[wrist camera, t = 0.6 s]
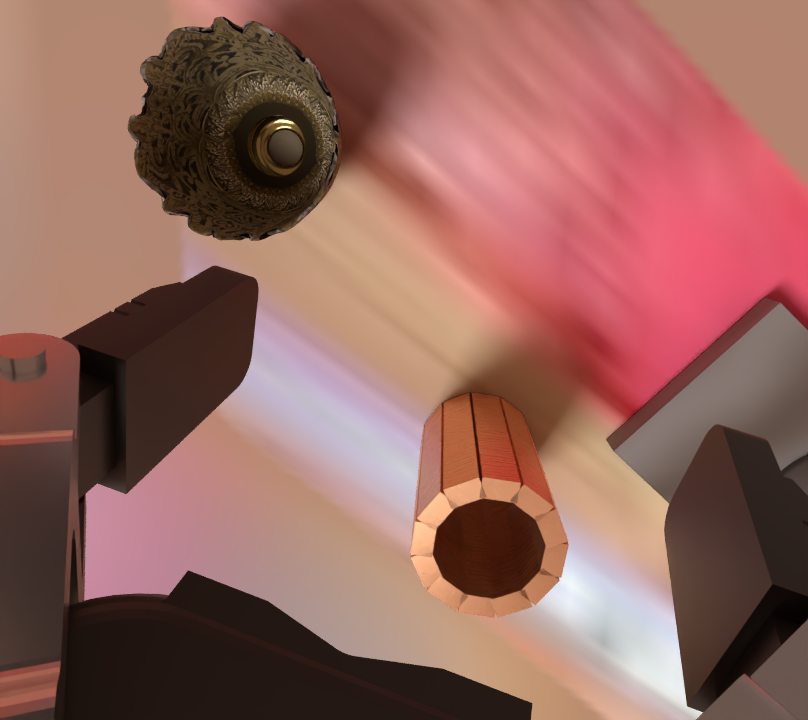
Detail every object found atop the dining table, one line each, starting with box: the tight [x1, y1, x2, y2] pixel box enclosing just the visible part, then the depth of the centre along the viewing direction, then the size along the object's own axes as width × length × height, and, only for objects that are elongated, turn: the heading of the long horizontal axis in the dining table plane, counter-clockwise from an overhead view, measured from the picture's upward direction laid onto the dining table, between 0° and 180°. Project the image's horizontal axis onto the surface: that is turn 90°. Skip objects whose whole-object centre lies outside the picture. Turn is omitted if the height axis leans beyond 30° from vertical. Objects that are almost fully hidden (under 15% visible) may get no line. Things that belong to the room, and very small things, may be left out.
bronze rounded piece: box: [128, 17, 342, 241], centre depth 26 cm, size 8×7×8 cm
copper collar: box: [410, 392, 568, 618], centre depth 29 cm, size 6×6×10 cm
